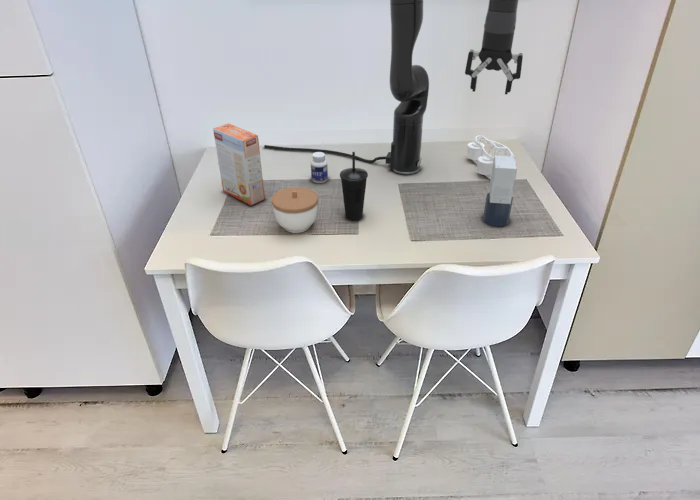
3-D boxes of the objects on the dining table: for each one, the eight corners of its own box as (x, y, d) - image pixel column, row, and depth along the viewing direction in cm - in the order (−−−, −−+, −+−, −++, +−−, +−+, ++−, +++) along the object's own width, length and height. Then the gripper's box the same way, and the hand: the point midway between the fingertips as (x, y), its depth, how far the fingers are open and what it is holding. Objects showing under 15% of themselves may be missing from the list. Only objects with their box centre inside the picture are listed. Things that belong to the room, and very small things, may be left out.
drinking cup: (371, 213, 154) (372, 149, 143) (360, 226, 149) (360, 160, 137) (347, 207, 157) (346, 144, 145) (336, 220, 151) (334, 155, 140)
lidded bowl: (301, 243, 142) (299, 207, 136) (265, 230, 147) (260, 195, 141) (328, 221, 151) (327, 187, 144) (292, 210, 156) (289, 176, 150)
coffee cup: (481, 224, 149) (485, 201, 144) (484, 212, 154) (487, 189, 150) (507, 228, 147) (512, 204, 143) (509, 215, 152) (513, 192, 148)
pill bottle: (308, 181, 171) (307, 156, 165) (315, 174, 174) (314, 149, 169) (323, 184, 169) (322, 159, 164) (330, 177, 173) (329, 152, 168)
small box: (510, 204, 143) (517, 169, 137) (489, 203, 144) (494, 167, 138) (509, 190, 149) (515, 156, 143) (488, 188, 150) (494, 154, 144)
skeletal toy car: (462, 155, 185) (464, 135, 181) (493, 153, 186) (496, 134, 182) (480, 182, 169) (483, 161, 165) (514, 180, 170) (518, 159, 166)
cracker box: (266, 199, 162) (259, 134, 150) (250, 207, 158) (241, 140, 146) (238, 184, 169) (228, 121, 157) (222, 191, 166) (211, 127, 154)
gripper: (529, 27, 136) (517, 90, 145) (472, 23, 139) (464, 85, 149) (528, 34, 130) (516, 99, 139) (469, 30, 133) (461, 94, 143)
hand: (489, 92), depth 144 cm, fingers open, 8 cm apart
